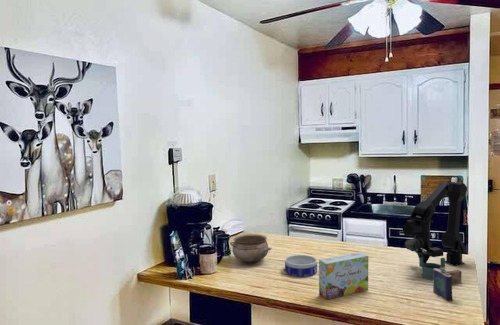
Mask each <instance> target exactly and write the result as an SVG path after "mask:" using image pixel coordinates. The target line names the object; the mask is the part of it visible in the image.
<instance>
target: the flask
mask: <svg viewBox="0 0 500 325" xmlns="http://www.w3.org/2000/svg"><path fill="white" fill-rule="evenodd" d="M440 269H441V270H440ZM440 269H437V268H435V269H433V280H432V282H433V286H432V290H433V291H432V292H433V293H434V294H435V295H436V294H437V296H438V297H441V298H442V299H444V300H445V301H447V302H452V301H453V284H452V276H451V275H450V274H449V273H447V271H448V270H446V269H447V267H445V268H440Z"/></svg>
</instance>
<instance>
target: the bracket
mask: <svg viewBox="0 0 500 325" xmlns="http://www.w3.org/2000/svg"><path fill="white" fill-rule="evenodd" d="M445 261H446V258H445V257H440V264H439V263H435V262H426V263H424V264H423V257H418V263H419V267H420V268H421V271H422V272H421V276H422V278H424V279H426V280H430V281H433V269H435V268H437V269H440V268H446V262H445ZM440 270H441V269H440Z"/></svg>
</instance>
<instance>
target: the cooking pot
mask: <svg viewBox="0 0 500 325" xmlns="http://www.w3.org/2000/svg"><path fill="white" fill-rule="evenodd" d="M267 239H268V237H267V236H265V235H262V234H259V233H258V234H257V233H250V234H249V233H248V234H240V235H237V236H235V237H233V239H232V240H233V241H230V243H229V245H230V246H231V247H232V248H231V249H232V255H234V257H235V258H236V259H238V260H239V261H241V262H242V263H243V262H244V263H245V264H248V265H249V264H256V263H258V262H259V261H261V260H263V259H264V258H265V257H267V255H268V253H269V251H271V250H272V249H273V248H272V247H269V244H268V242H267Z"/></svg>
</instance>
